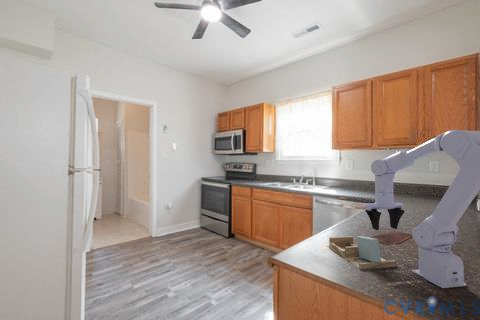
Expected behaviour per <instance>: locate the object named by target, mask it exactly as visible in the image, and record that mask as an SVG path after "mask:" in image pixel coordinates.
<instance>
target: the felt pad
mask: <svg viewBox="0 0 480 320" xmlns="http://www.w3.org/2000/svg"><path fill="white" fill-rule="evenodd" d="M354 260H355V261H357V262H358V263H366V262H373V261H370V260H367V259H363V258H355V259H354Z"/></svg>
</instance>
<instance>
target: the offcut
mask: <svg viewBox="0 0 480 320" xmlns="http://www.w3.org/2000/svg"><path fill="white" fill-rule="evenodd" d="M348 246H358V245H357V242H354V241H353V243H348Z"/></svg>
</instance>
